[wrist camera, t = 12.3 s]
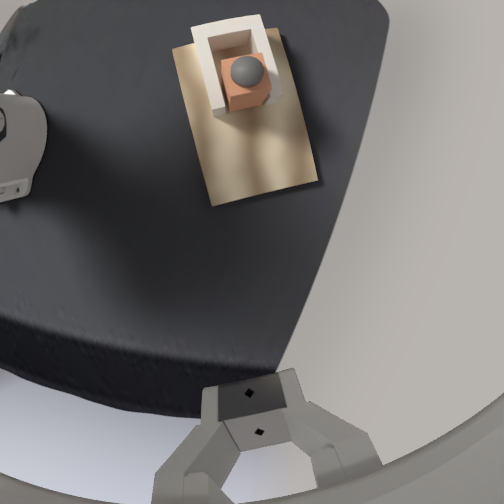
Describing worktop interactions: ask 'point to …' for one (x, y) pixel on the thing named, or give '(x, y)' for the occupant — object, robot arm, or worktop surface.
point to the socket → (229, 36)
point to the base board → (246, 131)
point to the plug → (245, 81)
